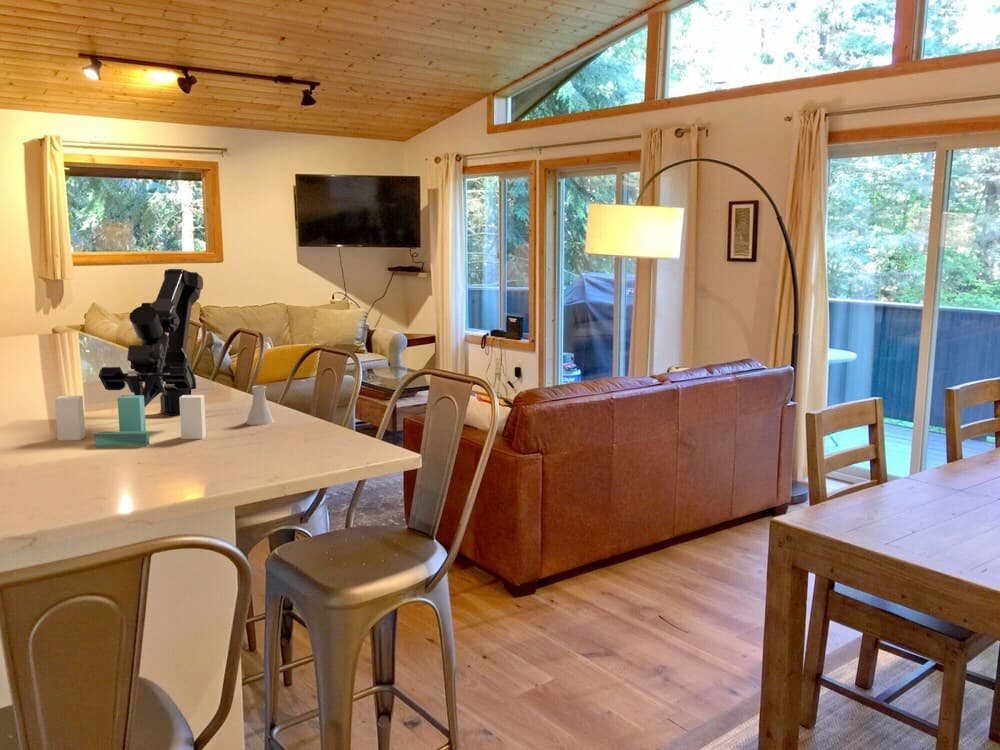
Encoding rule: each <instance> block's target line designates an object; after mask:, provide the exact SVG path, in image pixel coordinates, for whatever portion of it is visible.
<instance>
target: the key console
mask: <svg viewBox="0 0 1000 750" xmlns="http://www.w3.org/2000/svg"><path fill="white" fill-rule="evenodd" d="M94 442H95V443H94V446H95V448H131V447H133V448H134V447H141V448H142V447H145V448H146V447H148V446H150V431H147V430H146V431H126V432H120V431H97V432H96V433H94Z"/></svg>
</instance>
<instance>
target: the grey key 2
mask: <svg viewBox="0 0 1000 750" xmlns="http://www.w3.org/2000/svg"><path fill="white" fill-rule="evenodd" d="M179 403H180V414H179V419H180V420H179V421H180V439H181V440H203V439H204V438H205V437H207V428H206V427H207V426H206V406H205V403H206V401H205V394H191V395H182V396H181V397H179Z"/></svg>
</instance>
